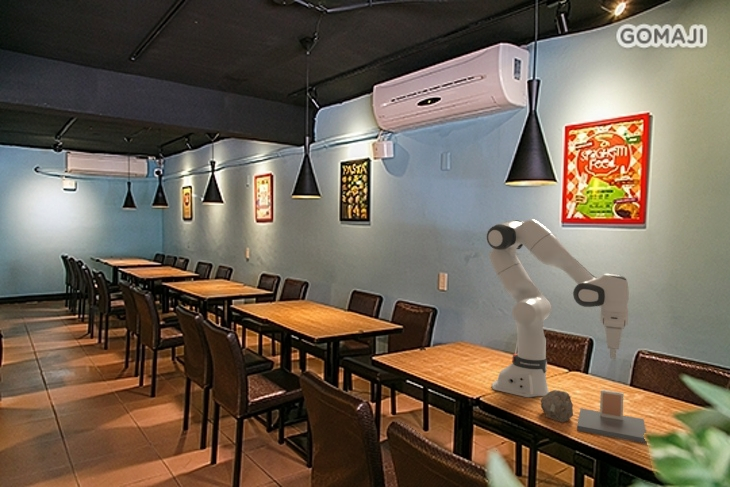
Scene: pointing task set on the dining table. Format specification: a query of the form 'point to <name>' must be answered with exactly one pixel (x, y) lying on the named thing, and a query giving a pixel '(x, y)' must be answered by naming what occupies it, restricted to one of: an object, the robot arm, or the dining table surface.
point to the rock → (557, 405)
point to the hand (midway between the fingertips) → (613, 356)
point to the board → (611, 426)
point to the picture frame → (611, 404)
